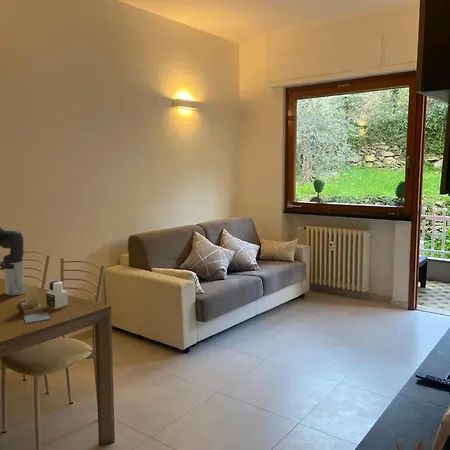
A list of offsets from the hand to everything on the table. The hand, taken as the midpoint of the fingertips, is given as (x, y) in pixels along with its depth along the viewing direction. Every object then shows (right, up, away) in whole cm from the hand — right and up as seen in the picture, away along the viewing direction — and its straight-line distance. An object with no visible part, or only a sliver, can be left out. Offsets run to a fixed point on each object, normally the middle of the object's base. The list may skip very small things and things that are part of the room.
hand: (11, 265), depth 212 cm
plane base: (+5, -21, +9) cm, 23 cm away
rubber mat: (+14, -23, -6) cm, 27 cm away
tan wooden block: (+7, -19, +6) cm, 21 cm away
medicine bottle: (+17, -21, +11) cm, 29 cm away
